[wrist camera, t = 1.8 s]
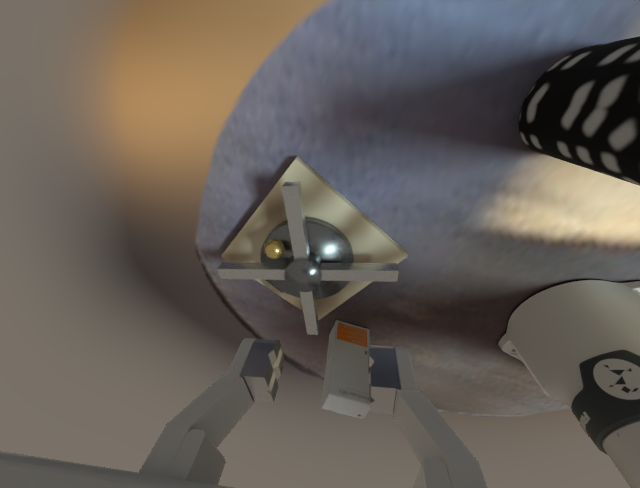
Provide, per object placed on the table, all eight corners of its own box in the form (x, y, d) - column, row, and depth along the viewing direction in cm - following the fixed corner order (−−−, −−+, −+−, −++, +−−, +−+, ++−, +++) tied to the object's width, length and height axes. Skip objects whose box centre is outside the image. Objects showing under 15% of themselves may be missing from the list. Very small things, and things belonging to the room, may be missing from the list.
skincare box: (370, 327, 40) (375, 406, 30) (361, 342, 42) (363, 420, 32) (335, 318, 40) (328, 394, 30) (328, 333, 42) (319, 409, 32)
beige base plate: (405, 251, 31) (407, 257, 30) (318, 315, 40) (317, 322, 39) (297, 155, 27) (295, 158, 25) (224, 251, 35) (219, 257, 34)
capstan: (400, 258, 30) (406, 279, 27) (316, 318, 38) (312, 341, 35) (296, 167, 26) (286, 179, 22) (225, 257, 34) (210, 276, 30)
